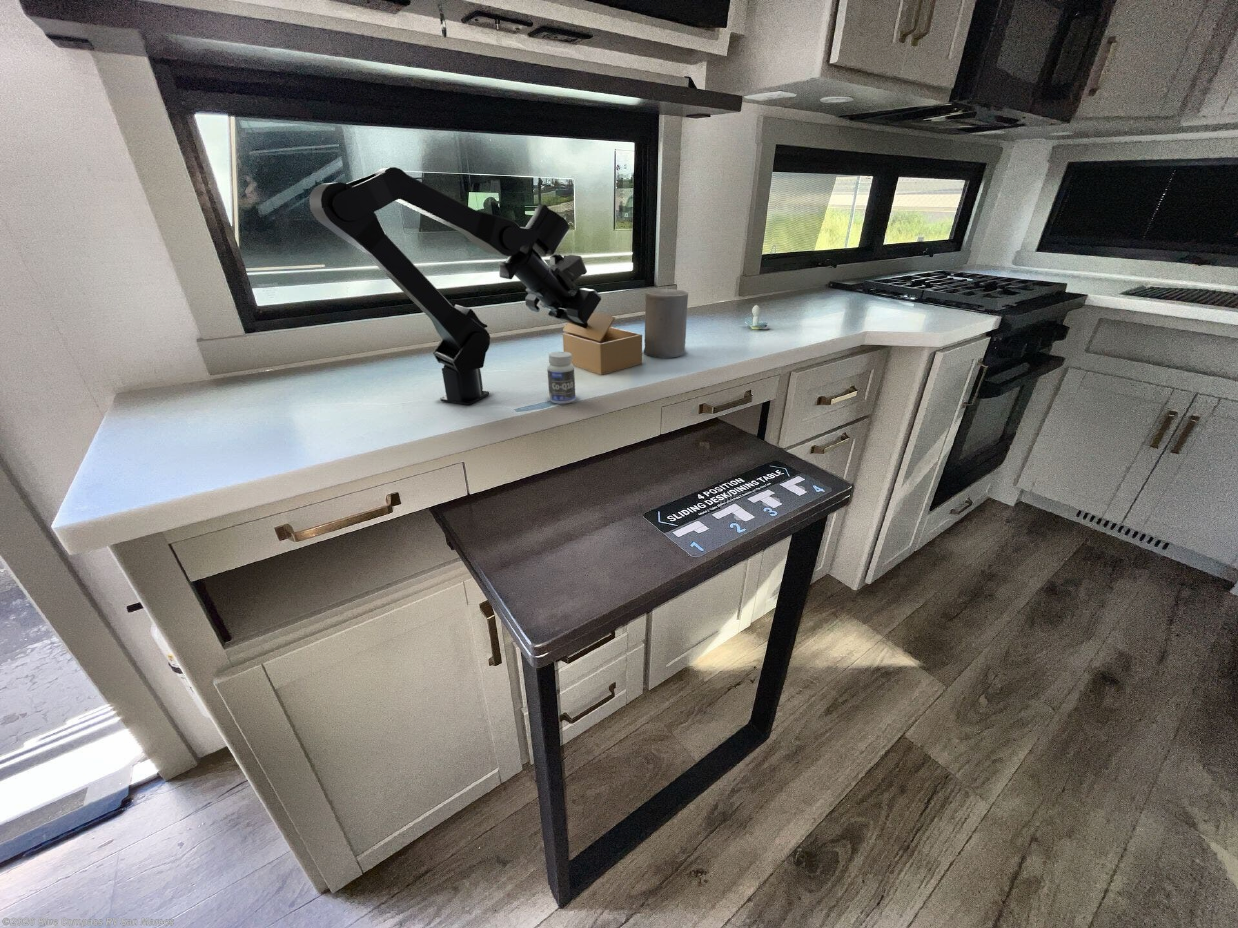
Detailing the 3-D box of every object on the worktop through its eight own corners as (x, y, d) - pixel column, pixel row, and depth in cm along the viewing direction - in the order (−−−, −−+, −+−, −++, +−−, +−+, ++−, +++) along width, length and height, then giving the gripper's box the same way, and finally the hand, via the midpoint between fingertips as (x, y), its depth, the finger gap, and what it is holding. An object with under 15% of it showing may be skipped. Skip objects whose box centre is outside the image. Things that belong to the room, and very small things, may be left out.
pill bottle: (551, 405, 89) (548, 358, 85) (547, 396, 93) (544, 351, 89) (578, 402, 90) (575, 356, 86) (573, 394, 94) (570, 349, 90)
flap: (600, 341, 101) (599, 340, 101) (563, 331, 110) (562, 330, 110) (615, 318, 102) (614, 317, 102) (577, 309, 110) (576, 308, 110)
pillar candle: (635, 352, 119) (636, 286, 113) (663, 345, 125) (665, 281, 118) (666, 361, 113) (668, 291, 106) (694, 352, 119) (698, 286, 112)
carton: (600, 375, 104) (600, 344, 101) (564, 362, 113) (562, 333, 110) (641, 363, 111) (642, 334, 108) (604, 352, 120) (603, 325, 117)
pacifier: (759, 325, 145) (741, 326, 143) (762, 302, 142) (744, 303, 140) (774, 330, 139) (756, 331, 137) (778, 307, 136) (760, 308, 134)
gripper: (591, 243, 88) (636, 300, 100) (532, 238, 101) (578, 289, 112) (557, 295, 87) (607, 347, 99) (502, 284, 100) (552, 331, 111)
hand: (585, 326), depth 106 cm, fingers closed, pressing on flap
